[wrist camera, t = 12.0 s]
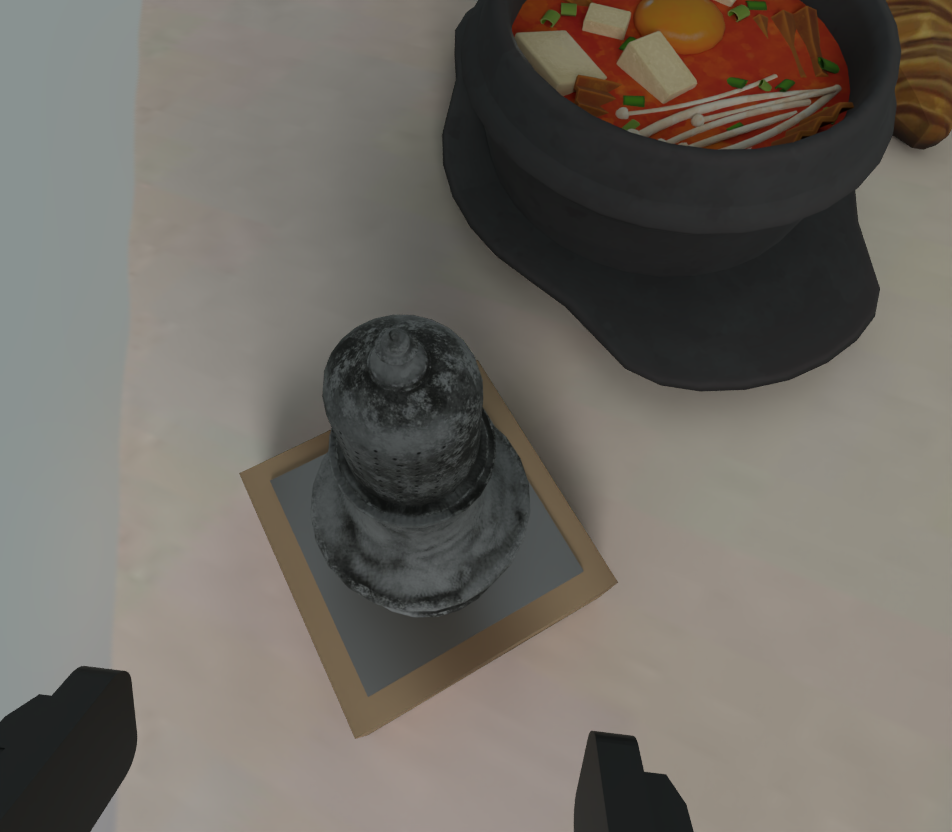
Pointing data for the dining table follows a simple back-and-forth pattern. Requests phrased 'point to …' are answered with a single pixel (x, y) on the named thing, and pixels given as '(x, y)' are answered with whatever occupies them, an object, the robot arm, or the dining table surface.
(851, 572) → the dining table surface
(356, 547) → the dark grey chess piece
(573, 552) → the wooden picture frame
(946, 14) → the croissant
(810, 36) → the casserole
